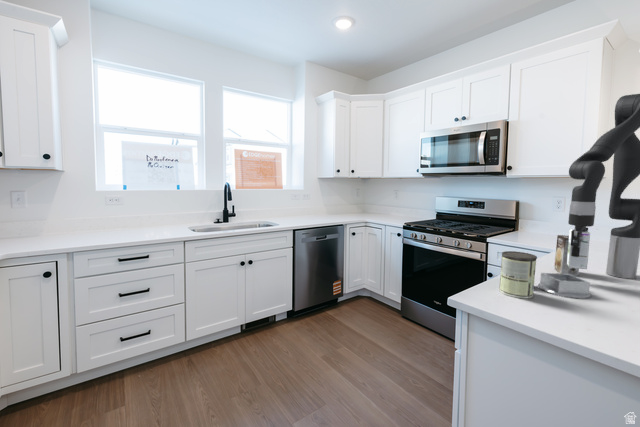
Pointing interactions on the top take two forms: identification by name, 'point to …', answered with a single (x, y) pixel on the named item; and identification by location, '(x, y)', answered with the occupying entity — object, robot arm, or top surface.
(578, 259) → the syrup box
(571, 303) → the top surface
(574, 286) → the collar
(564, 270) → the coffee box
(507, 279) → the coffee can
